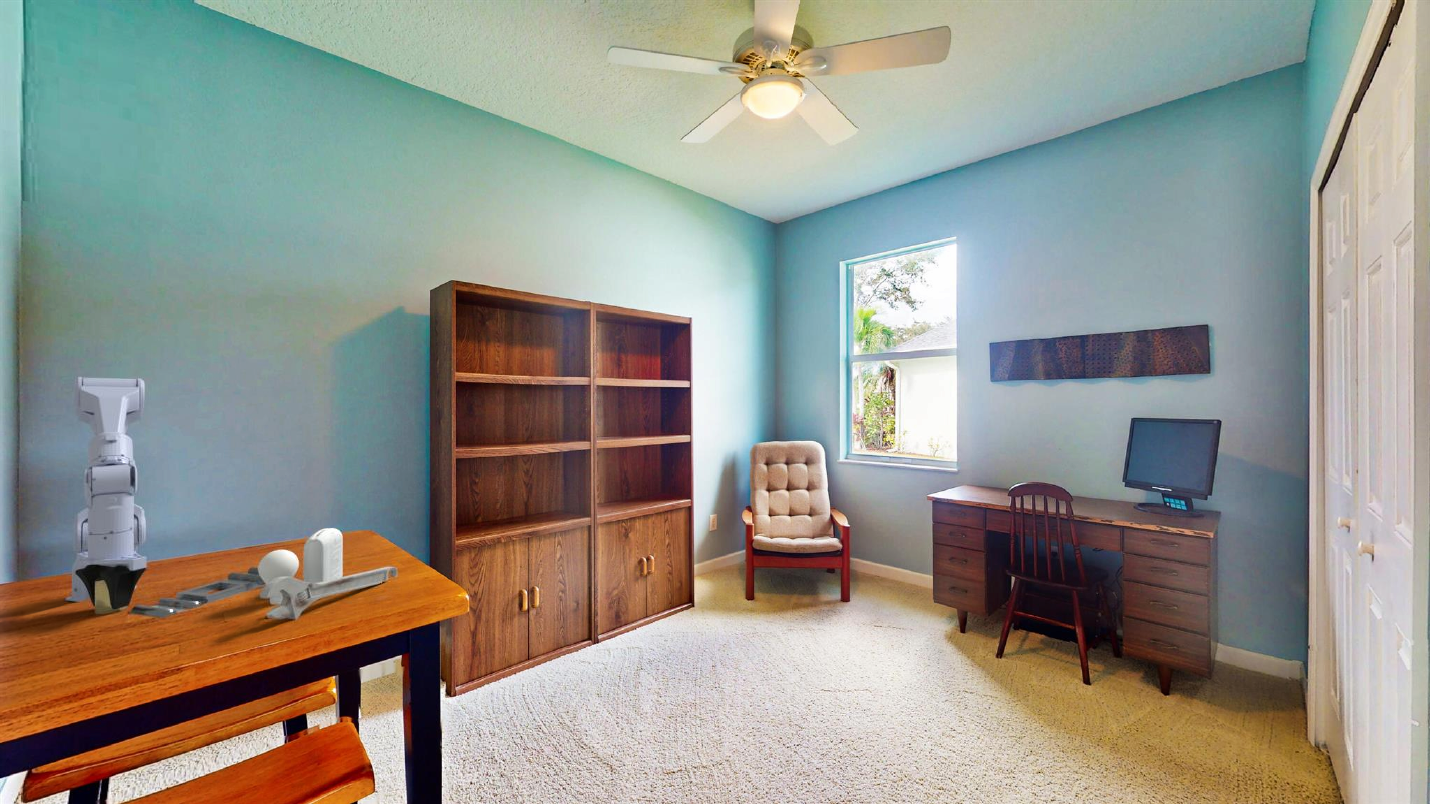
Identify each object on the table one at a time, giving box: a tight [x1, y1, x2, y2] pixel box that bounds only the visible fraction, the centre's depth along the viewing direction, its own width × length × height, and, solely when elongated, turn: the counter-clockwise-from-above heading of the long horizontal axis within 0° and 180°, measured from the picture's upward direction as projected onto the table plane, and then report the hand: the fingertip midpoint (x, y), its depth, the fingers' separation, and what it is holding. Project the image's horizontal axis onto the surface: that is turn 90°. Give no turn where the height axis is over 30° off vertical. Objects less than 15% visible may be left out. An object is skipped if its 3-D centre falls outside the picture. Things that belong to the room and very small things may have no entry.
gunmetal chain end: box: [176, 566, 266, 604], centre depth 114 cm, size 8×15×3 cm, turn 166°
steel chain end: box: [130, 588, 247, 619], centre depth 107 cm, size 8×15×2 cm, turn 166°
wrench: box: [259, 566, 398, 620], centre depth 111 cm, size 8×2×30 cm
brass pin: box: [94, 578, 128, 615], centre depth 102 cm, size 4×4×7 cm
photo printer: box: [302, 527, 344, 583], centre depth 118 cm, size 10×4×12 cm, turn 13°
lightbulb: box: [257, 549, 300, 606], centre depth 107 cm, size 6×6×11 cm
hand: (111, 606), depth 102 cm, fingers open, 4 cm apart
